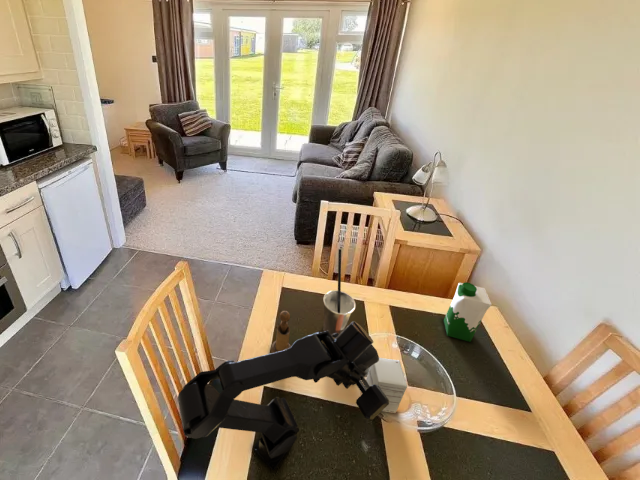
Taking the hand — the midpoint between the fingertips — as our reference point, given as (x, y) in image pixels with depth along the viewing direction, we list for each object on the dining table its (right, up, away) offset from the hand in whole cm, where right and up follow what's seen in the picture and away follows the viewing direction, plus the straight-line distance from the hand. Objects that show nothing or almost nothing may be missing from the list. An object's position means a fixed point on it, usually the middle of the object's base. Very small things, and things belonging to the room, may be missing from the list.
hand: (366, 378), depth 80 cm
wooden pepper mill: (-20, -4, +20) cm, 29 cm away
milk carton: (+42, -1, +30) cm, 52 cm away
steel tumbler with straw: (-2, -1, +28) cm, 28 cm away
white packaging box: (+7, -11, +9) cm, 16 cm away
